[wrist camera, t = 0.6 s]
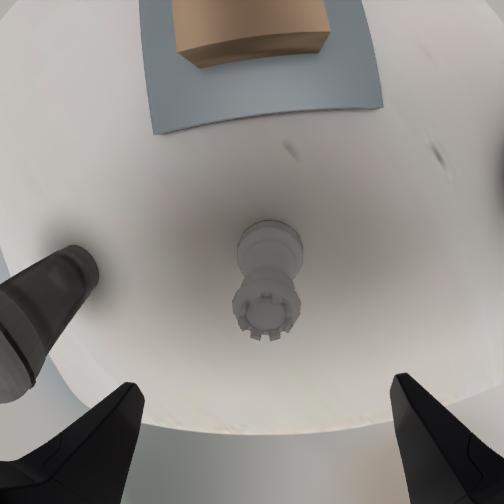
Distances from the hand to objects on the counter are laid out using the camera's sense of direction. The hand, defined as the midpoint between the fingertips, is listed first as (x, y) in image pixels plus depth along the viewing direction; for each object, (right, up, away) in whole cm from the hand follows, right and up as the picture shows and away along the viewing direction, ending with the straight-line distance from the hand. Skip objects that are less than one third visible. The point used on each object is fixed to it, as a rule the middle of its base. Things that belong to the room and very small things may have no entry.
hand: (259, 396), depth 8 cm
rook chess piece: (+1, +5, +12) cm, 13 cm away
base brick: (0, +19, +4) cm, 19 cm away
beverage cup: (-16, +3, +14) cm, 21 cm away
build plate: (0, +19, +5) cm, 20 cm away
